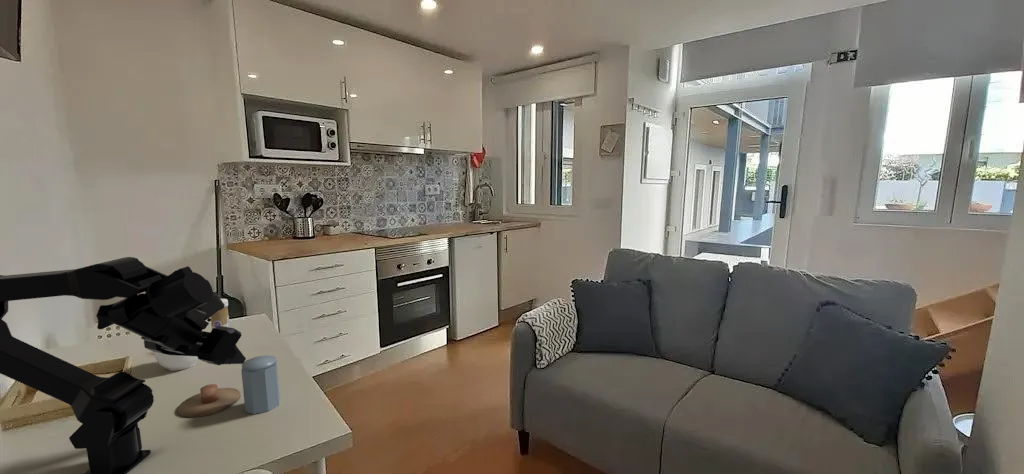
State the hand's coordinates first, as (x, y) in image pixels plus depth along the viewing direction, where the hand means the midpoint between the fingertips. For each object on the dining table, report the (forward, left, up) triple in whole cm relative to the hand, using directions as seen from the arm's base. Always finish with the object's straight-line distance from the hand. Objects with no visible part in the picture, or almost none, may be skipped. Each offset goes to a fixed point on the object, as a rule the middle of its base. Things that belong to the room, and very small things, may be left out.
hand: (227, 357), depth 82 cm
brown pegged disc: (+8, +9, -14) cm, 18 cm away
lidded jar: (+28, +28, -14) cm, 42 cm away
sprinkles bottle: (+42, +26, -14) cm, 51 cm away
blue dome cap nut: (+6, -3, -14) cm, 15 cm away
